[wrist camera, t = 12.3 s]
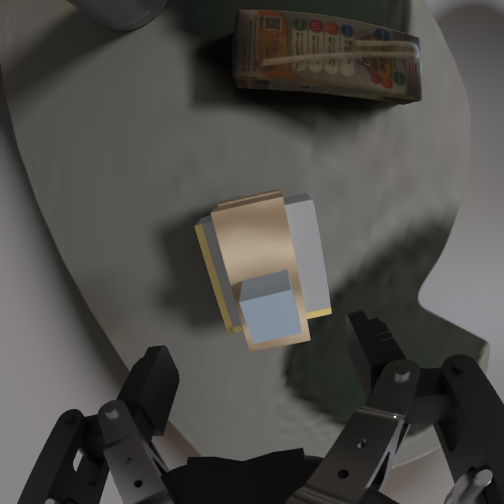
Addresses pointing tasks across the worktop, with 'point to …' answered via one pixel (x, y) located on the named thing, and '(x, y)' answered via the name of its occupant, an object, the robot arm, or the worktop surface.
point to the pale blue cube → (269, 307)
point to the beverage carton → (325, 56)
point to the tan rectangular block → (258, 251)
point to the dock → (305, 254)
